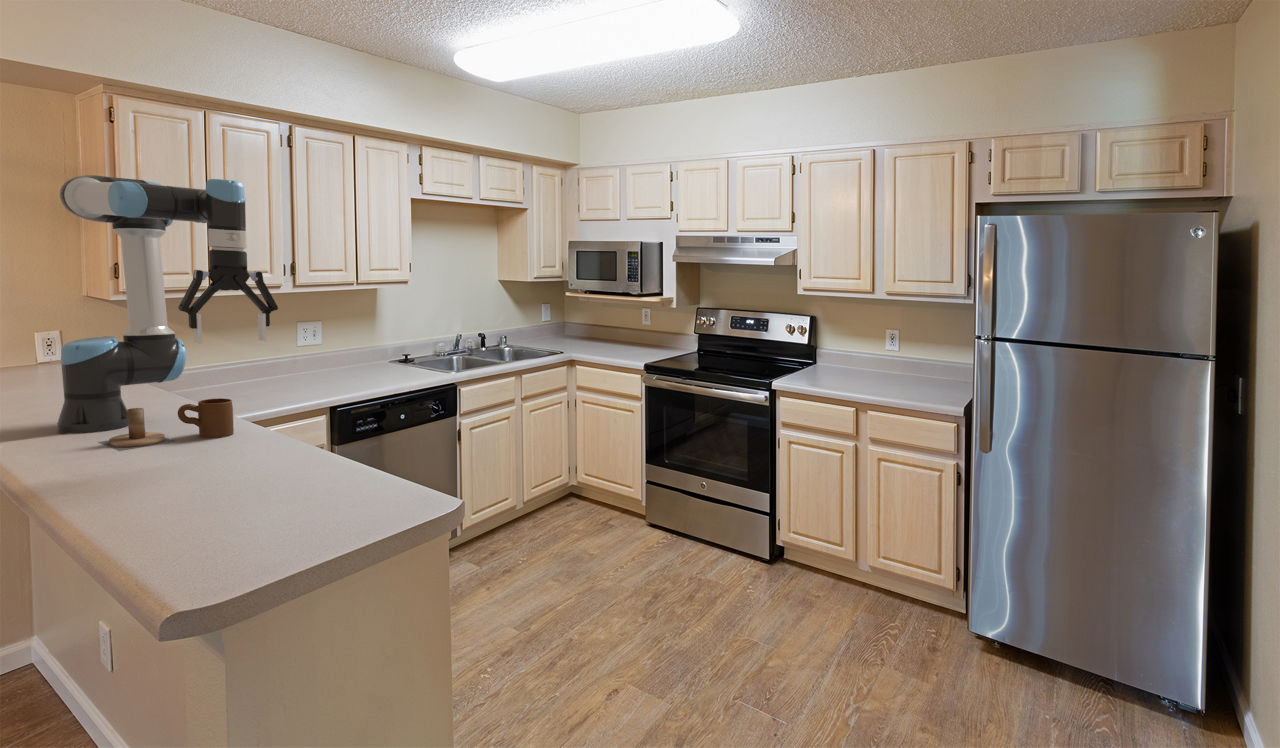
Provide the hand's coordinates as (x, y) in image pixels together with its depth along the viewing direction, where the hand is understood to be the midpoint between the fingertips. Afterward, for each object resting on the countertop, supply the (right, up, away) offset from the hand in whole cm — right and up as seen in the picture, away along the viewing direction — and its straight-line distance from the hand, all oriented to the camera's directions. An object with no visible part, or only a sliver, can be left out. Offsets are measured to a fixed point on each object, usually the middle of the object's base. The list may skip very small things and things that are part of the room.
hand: (231, 341), depth 165 cm
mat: (-26, -24, +6) cm, 36 cm away
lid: (-26, -24, +6) cm, 36 cm away
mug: (-14, -24, +14) cm, 31 cm away
